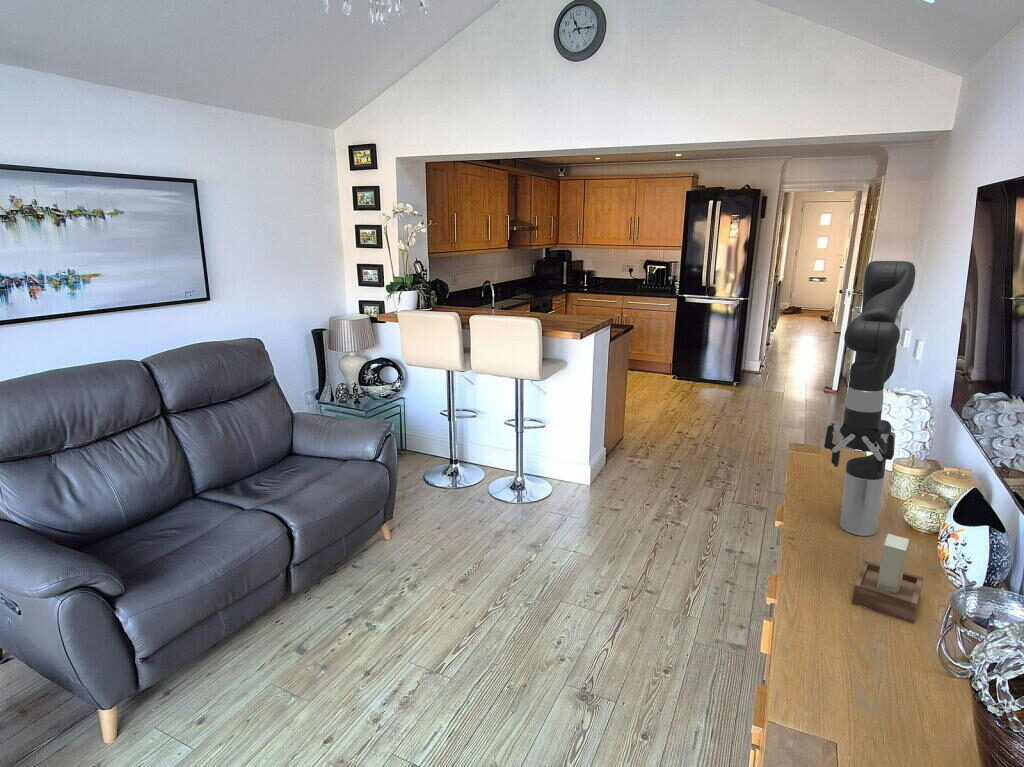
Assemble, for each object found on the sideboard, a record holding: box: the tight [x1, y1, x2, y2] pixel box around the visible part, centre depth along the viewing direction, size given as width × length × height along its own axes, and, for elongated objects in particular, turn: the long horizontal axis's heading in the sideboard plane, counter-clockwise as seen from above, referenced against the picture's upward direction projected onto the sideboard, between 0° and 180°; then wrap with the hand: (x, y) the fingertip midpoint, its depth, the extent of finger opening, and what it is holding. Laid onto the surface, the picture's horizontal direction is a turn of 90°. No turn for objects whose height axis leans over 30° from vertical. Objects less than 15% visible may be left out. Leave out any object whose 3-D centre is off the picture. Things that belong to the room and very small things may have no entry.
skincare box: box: [876, 533, 910, 596], centre depth 135 cm, size 6×4×12 cm
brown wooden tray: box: [851, 560, 924, 624], centre depth 137 cm, size 12×12×6 cm
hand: (855, 469), depth 142 cm, fingers open, 8 cm apart
